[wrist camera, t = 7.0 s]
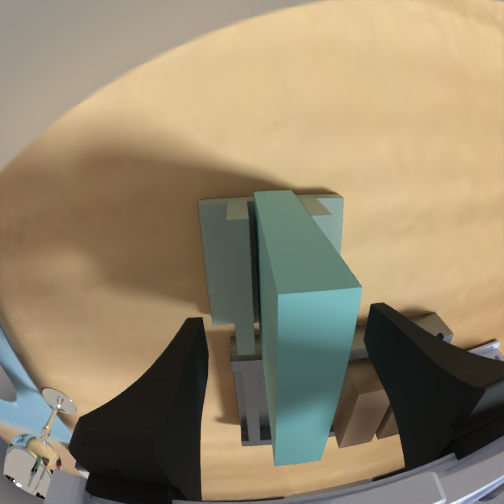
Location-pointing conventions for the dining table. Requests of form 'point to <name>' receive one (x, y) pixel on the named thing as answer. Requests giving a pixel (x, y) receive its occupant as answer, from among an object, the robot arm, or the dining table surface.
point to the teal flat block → (301, 324)
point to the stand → (248, 256)
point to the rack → (254, 387)
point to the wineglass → (36, 451)
